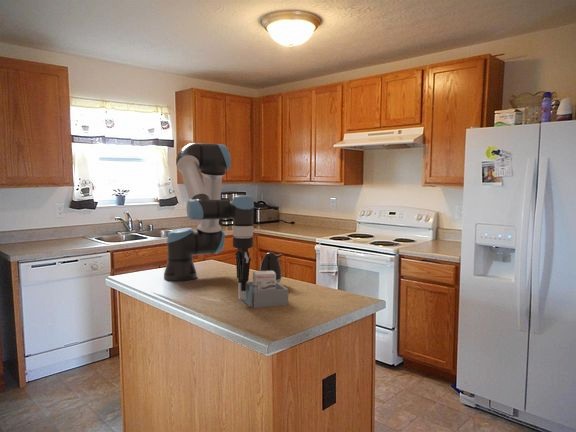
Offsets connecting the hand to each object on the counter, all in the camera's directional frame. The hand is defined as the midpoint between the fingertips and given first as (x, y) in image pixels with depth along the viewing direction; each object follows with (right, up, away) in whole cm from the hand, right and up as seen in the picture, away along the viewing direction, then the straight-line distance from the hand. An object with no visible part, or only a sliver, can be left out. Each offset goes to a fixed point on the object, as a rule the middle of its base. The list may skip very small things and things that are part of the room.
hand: (242, 298), depth 159 cm
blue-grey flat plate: (+1, -2, +3) cm, 4 cm away
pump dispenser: (+9, 0, +30) cm, 32 cm away
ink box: (+8, -2, +4) cm, 9 cm away
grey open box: (+7, -2, +6) cm, 10 cm away
